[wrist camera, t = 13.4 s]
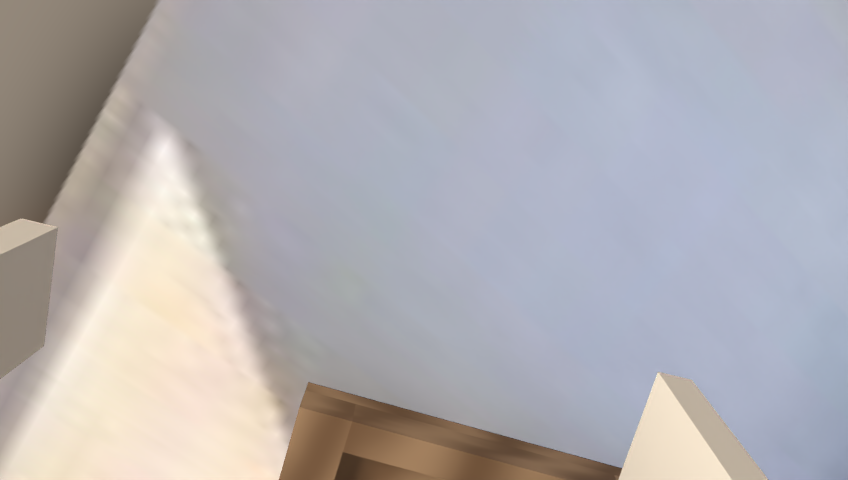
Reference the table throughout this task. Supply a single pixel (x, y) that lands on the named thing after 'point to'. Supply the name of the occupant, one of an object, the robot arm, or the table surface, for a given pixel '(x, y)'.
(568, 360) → the table surface
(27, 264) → the robot arm
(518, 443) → the tray
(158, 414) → the table surface
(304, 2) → the table surface
